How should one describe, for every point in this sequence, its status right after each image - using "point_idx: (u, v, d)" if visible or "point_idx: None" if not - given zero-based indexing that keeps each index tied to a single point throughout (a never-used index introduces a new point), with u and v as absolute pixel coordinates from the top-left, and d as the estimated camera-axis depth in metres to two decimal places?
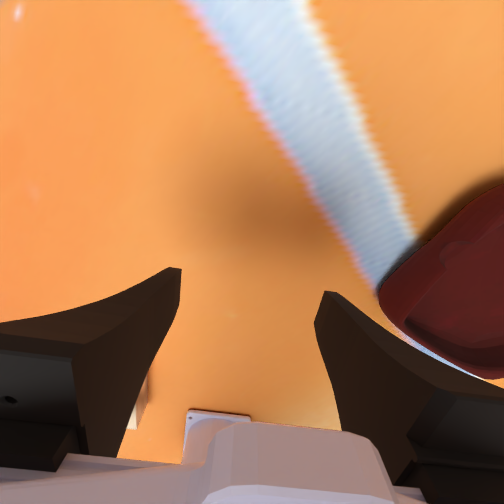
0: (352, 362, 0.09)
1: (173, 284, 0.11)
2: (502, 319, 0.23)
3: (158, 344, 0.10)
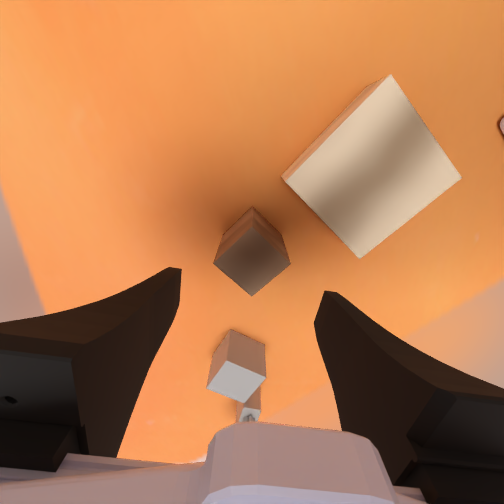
0: (352, 362, 0.09)
1: (173, 284, 0.11)
2: None
3: (158, 344, 0.10)
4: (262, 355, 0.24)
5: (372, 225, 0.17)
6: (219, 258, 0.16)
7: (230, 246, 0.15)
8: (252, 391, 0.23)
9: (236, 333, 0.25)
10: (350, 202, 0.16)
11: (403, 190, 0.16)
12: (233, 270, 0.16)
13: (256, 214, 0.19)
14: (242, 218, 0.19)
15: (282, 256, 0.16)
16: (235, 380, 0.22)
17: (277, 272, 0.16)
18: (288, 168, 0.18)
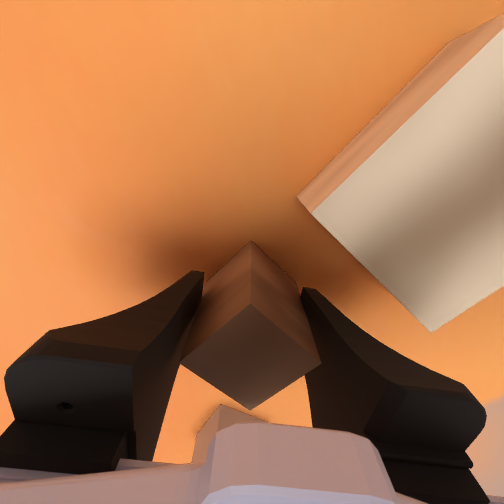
0: (323, 358, 0.09)
1: (198, 288, 0.11)
2: None
3: None
4: None
5: (459, 282, 0.10)
6: (190, 354, 0.08)
7: (210, 334, 0.08)
8: None
9: (229, 410, 0.18)
10: (424, 246, 0.09)
11: None
12: (216, 373, 0.09)
13: (257, 257, 0.11)
14: (235, 262, 0.12)
15: (307, 351, 0.08)
16: None
17: (296, 376, 0.09)
18: (310, 185, 0.11)
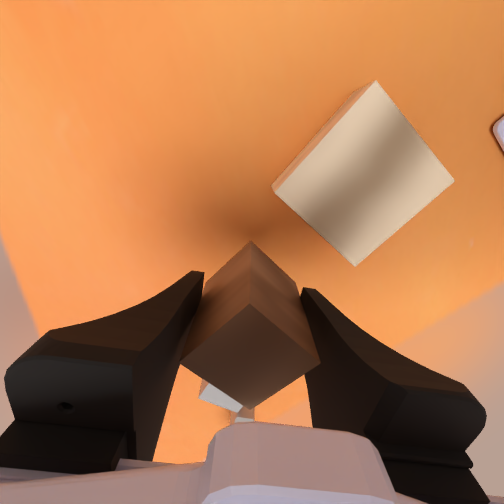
0: (323, 358, 0.09)
1: (198, 288, 0.11)
2: None
3: None
4: None
5: (366, 232, 0.17)
6: (189, 354, 0.08)
7: (209, 334, 0.08)
8: None
9: None
10: (341, 210, 0.16)
11: (396, 196, 0.16)
12: (216, 373, 0.09)
13: (257, 257, 0.11)
14: (234, 262, 0.12)
15: (306, 351, 0.08)
16: None
17: (296, 375, 0.09)
18: (278, 177, 0.18)
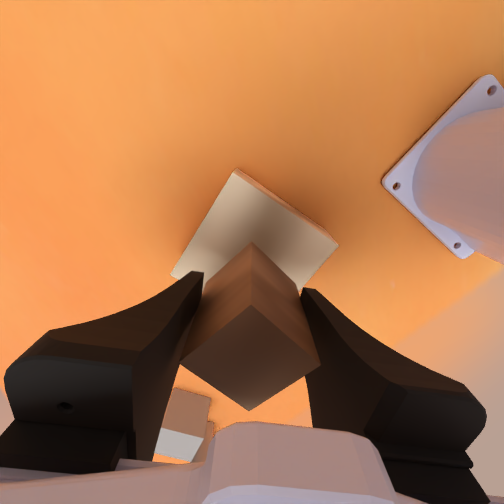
0: (323, 358, 0.09)
1: (198, 288, 0.11)
2: None
3: None
4: (205, 412, 0.25)
5: None
6: (189, 355, 0.08)
7: (210, 334, 0.08)
8: (195, 451, 0.23)
9: (180, 391, 0.25)
10: None
11: (285, 265, 0.16)
12: (216, 374, 0.09)
13: (258, 258, 0.11)
14: (235, 262, 0.12)
15: (306, 352, 0.08)
16: (175, 443, 0.23)
17: (296, 377, 0.09)
18: None
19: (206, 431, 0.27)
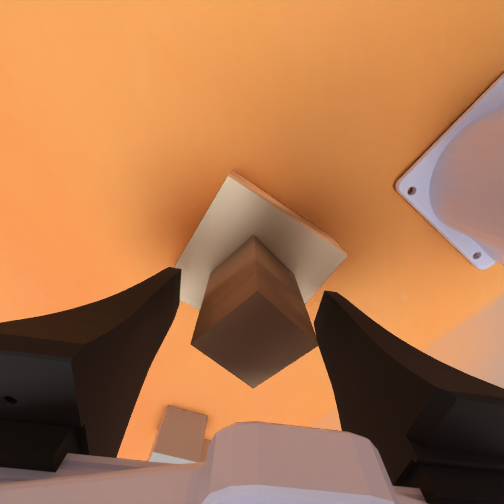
0: (352, 362, 0.09)
1: (173, 284, 0.11)
2: None
3: (158, 344, 0.10)
4: (201, 432, 0.23)
5: None
6: (201, 337, 0.09)
7: (219, 318, 0.09)
8: None
9: (174, 409, 0.24)
10: None
11: None
12: (224, 354, 0.10)
13: (260, 250, 0.12)
14: (238, 254, 0.13)
15: (306, 334, 0.09)
16: None
17: (296, 356, 0.10)
18: None
19: (202, 451, 0.25)
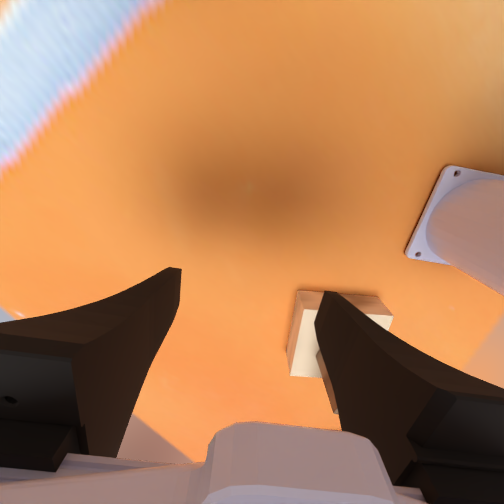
0: (352, 362, 0.09)
1: (173, 284, 0.11)
2: None
3: (158, 344, 0.10)
4: None
5: None
6: None
7: None
8: None
9: None
10: None
11: None
12: None
13: None
14: None
15: None
16: None
17: None
18: (287, 348, 0.27)
19: None
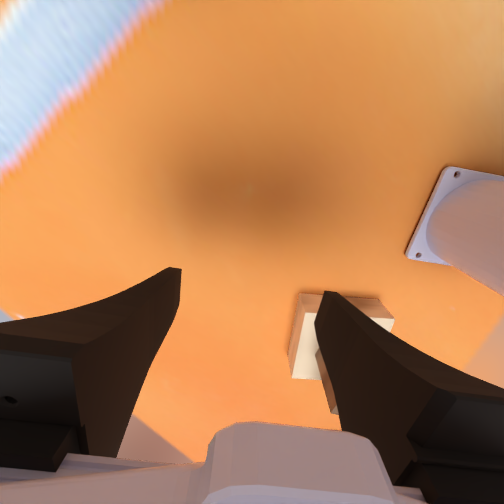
0: (352, 362, 0.09)
1: (173, 284, 0.11)
2: None
3: (158, 344, 0.10)
4: None
5: None
6: (334, 408, 0.18)
7: None
8: None
9: None
10: None
11: None
12: None
13: None
14: None
15: None
16: None
17: None
18: (288, 350, 0.27)
19: None
